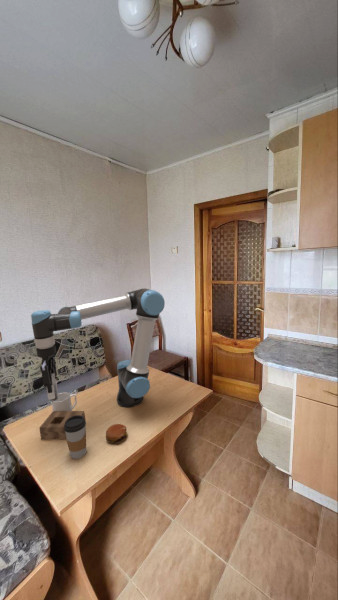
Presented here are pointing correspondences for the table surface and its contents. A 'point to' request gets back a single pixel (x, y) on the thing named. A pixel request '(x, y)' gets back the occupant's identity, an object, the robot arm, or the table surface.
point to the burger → (116, 433)
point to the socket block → (57, 424)
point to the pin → (54, 387)
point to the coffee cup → (76, 436)
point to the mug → (63, 402)
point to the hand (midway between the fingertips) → (53, 395)
